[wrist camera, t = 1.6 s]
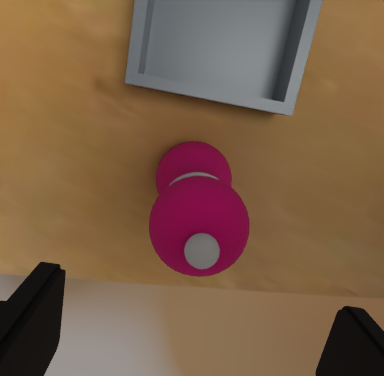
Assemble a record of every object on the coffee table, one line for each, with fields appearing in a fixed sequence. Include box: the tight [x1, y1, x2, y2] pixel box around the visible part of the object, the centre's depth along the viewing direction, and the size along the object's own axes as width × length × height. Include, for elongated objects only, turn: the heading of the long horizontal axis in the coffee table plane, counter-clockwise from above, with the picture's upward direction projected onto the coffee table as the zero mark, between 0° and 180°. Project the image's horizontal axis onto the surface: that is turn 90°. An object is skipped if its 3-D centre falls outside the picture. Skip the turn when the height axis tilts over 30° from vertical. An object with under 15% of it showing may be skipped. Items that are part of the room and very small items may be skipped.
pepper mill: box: [149, 142, 249, 276], centre depth 24 cm, size 7×7×20 cm
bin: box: [125, 0, 323, 116], centre depth 27 cm, size 15×15×5 cm
